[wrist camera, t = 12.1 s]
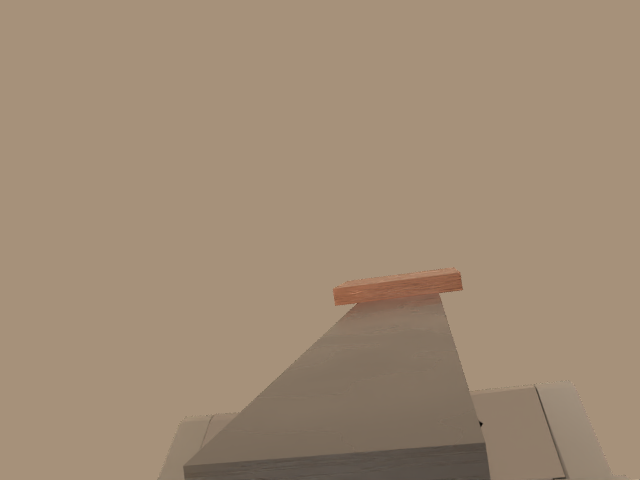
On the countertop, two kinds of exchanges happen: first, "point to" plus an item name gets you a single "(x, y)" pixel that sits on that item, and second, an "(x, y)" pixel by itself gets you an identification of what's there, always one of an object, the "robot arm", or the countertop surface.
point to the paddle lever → (363, 398)
